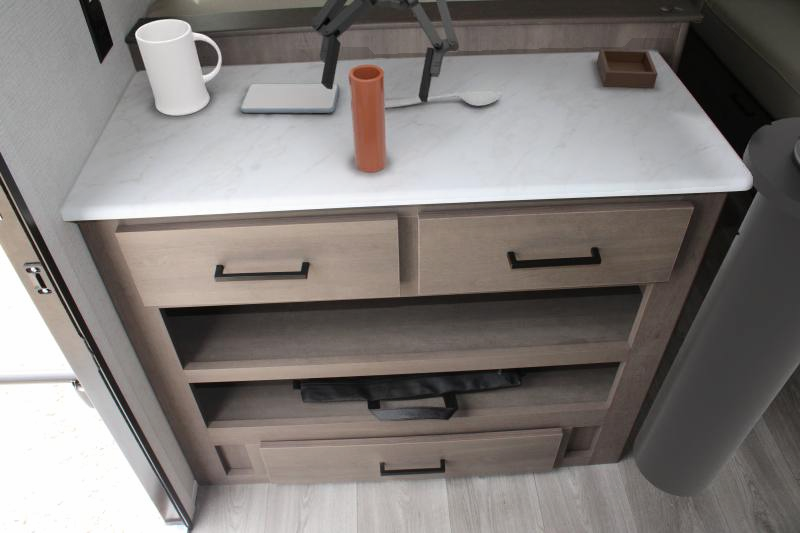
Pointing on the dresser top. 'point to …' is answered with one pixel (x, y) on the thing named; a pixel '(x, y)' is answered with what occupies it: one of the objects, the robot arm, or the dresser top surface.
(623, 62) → the tray
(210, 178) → the dresser top surface
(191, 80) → the mug
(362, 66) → the orange hollow tube
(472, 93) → the spoon
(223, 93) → the dresser top surface
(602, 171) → the dresser top surface
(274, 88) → the smartphone
